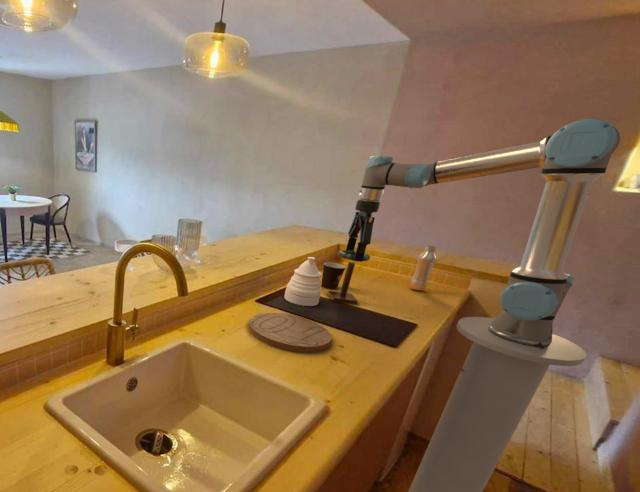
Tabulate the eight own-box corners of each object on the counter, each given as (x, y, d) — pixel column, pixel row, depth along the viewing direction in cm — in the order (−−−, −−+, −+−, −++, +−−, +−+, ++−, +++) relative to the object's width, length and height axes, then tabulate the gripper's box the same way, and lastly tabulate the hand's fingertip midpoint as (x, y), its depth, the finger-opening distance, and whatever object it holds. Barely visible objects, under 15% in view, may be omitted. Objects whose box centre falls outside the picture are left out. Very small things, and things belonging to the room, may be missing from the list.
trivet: (341, 336, 127) (343, 330, 126) (310, 361, 111) (312, 355, 110) (270, 311, 143) (271, 307, 143) (234, 330, 127) (234, 325, 126)
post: (357, 304, 155) (367, 267, 149) (332, 301, 157) (342, 264, 151) (350, 296, 163) (360, 261, 157) (327, 294, 165) (336, 258, 159)
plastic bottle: (426, 290, 177) (441, 246, 169) (423, 293, 172) (439, 249, 164) (409, 286, 181) (423, 244, 173) (406, 289, 176) (421, 246, 168)
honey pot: (319, 308, 149) (331, 263, 142) (284, 302, 153) (293, 258, 146) (317, 297, 160) (327, 254, 154) (284, 292, 164) (293, 250, 158)
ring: (373, 263, 147) (374, 258, 147) (342, 260, 149) (343, 254, 149) (363, 255, 157) (365, 251, 156) (334, 253, 159) (335, 248, 159)
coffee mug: (327, 290, 169) (332, 268, 166) (314, 283, 177) (319, 262, 173) (350, 289, 172) (356, 268, 168) (336, 283, 179) (342, 262, 176)
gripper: (349, 196, 156) (335, 249, 165) (368, 203, 135) (351, 264, 143) (369, 197, 155) (354, 251, 163) (392, 205, 134) (373, 266, 142)
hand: (353, 257), depth 153 cm, fingers closed on ring, 11 cm apart
